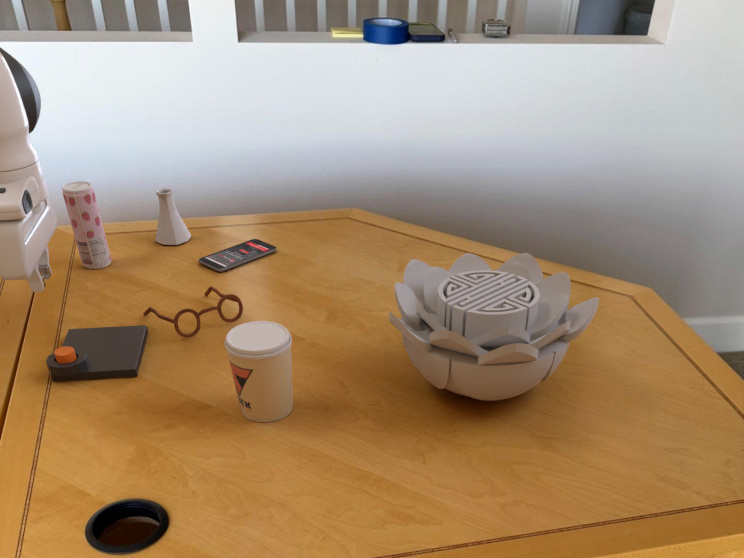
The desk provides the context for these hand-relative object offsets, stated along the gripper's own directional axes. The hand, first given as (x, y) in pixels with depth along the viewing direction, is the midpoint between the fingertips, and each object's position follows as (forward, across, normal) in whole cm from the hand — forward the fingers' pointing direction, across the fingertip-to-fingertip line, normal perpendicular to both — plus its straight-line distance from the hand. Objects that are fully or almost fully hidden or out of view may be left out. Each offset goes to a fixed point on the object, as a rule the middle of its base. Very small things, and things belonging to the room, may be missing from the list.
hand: (42, 283), depth 113 cm
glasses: (+15, -18, +18) cm, 29 cm away
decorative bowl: (+15, +8, +64) cm, 66 cm away
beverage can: (+15, -44, -3) cm, 46 cm away
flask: (+15, -54, +11) cm, 58 cm away
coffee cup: (+15, +14, +31) cm, 37 cm away
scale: (+15, -6, +4) cm, 17 cm away
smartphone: (+15, -44, +25) cm, 52 cm away
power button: (+13, 0, 0) cm, 13 cm away
